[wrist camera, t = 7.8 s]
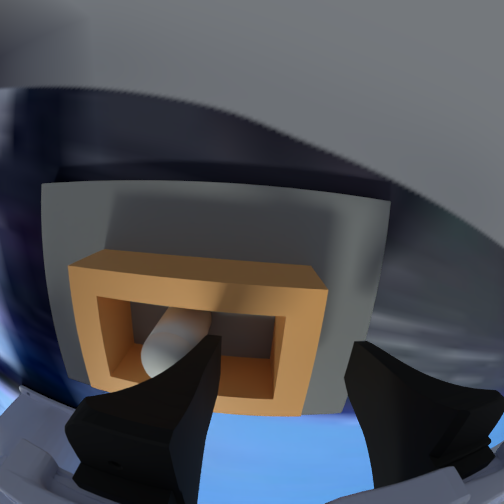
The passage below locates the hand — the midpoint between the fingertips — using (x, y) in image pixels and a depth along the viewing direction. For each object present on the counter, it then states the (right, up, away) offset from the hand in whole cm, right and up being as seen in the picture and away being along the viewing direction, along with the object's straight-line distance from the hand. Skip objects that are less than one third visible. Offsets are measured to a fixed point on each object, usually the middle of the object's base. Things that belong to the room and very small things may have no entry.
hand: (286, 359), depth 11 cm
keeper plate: (-5, +1, +4) cm, 7 cm away
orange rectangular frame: (-4, +1, +3) cm, 5 cm away
